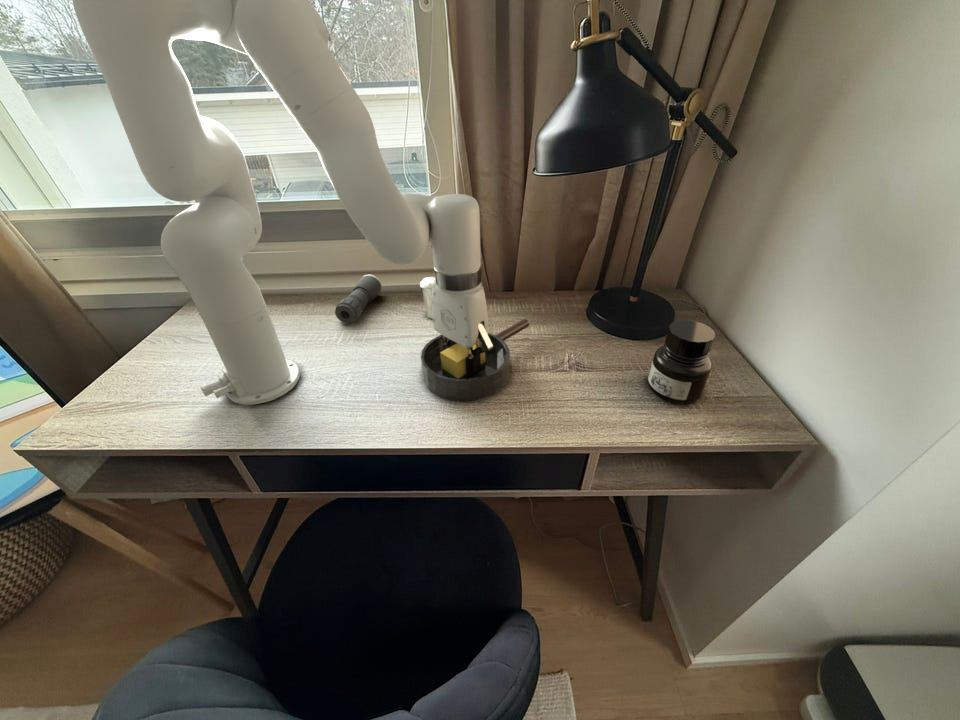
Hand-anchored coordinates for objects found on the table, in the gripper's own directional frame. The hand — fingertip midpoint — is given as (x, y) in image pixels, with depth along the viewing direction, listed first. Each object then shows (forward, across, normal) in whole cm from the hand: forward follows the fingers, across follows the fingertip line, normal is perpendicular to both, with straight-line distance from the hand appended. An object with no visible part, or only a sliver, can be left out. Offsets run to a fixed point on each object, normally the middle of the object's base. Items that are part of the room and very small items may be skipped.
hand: (463, 365), depth 79 cm
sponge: (+1, 0, 0) cm, 1 cm away
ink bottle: (+2, +31, +22) cm, 38 cm away
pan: (+1, +1, 0) cm, 2 cm away
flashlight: (+2, -36, 0) cm, 36 cm away
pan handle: (-1, +1, +13) cm, 13 cm away
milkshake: (+2, -20, +10) cm, 23 cm away
